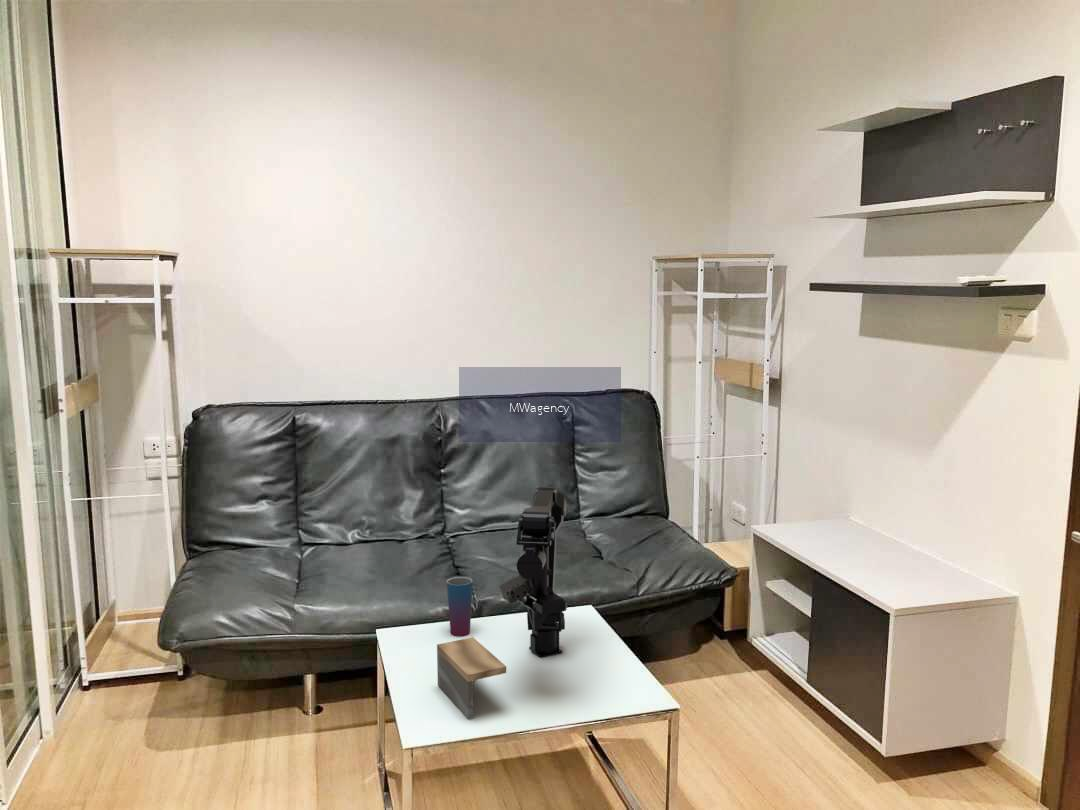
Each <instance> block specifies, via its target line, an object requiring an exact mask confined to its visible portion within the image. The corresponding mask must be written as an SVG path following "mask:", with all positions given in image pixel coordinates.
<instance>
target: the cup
mask: <svg viewBox="0 0 1080 810" xmlns="http://www.w3.org/2000/svg"><path fill="white" fill-rule="evenodd" d="M473 581H474V580H473V579H472V578H471V577H468V576H454V577H451V578H448V579H447V580H446V589H447V592H446V593H447V601H448V602H447V605H448V616H449V617H448V619H449V630H450V634H451V636H453V637H458V638H459V637H460V638H461V637H466V636H469V634H470V633H471V620H472V619H471V616H472V602H473V601H472V599H473V597H472V596H473Z"/></svg>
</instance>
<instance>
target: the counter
mask: <svg viewBox="0 0 1080 810" xmlns="http://www.w3.org/2000/svg"><path fill="white" fill-rule="evenodd" d="M436 653H437V654H436V655H437V657H436V659H437V661H436V663H437V665H436V666H437V668H436V669H437V687H438V688H439V689H440V690H441V692H443V694H444V695H445V696H446V697H447V698H448V699H449V700H450V701H451V702H452V704H454V705H455V707H456V708H457V709H458V710H459V711H460V712H461V713H462V714H463V716H464V717H465V718H466V719H467V720H468V721H469V720H472V719H474V681H477V680H481V679H485V678H490V677H494V676H499V675H504V674H506V673H507V665H505V664H504V663H503V662H502V661H501V660H500V659H498V658H497V656H496V655H494V654H493V653H492V652H491V651H489V649H487V648H486V647H485V646H484V645H482V643H480V642H479V641H478V640H477V639H476V638H474V636H473V637H468V638H463V639H456V640H453V641H449V642H448V641H447V642H442V643H438V644H436Z"/></svg>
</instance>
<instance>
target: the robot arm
mask: <svg viewBox="0 0 1080 810" xmlns="http://www.w3.org/2000/svg"><path fill="white" fill-rule="evenodd" d="M531 500H532V501H531V506H530V507H527V508H525V509H524V510H523V511H522V513H521V515H519V518H518V523H517V524H518V525H517V535H516V545H518V546H522V552H521V553H520V556H519V557H518V559H517V562H516V570H517V573H518V575H517V576H516V577H513V578H510V579H509V580H507V581H505V582H503V583H501V584H500V585H499V589H500V592H501V595H502V599H503V600H506V601H507V603H509V604H514V603H516V602H517V601H519V602H520V603H521V604H522V605H524V606H525V608H526V611H527V615H526V616H527V617H526V621H527V631H531V634H530V636H529V637H530V639H529V640H530V642H529V643H530V645H529V647H528V650H530V651H531V652H533V654H535V655H536V656H537V657H538V658H545V657H546V658H547V657H550V656H554V655H555V656H556V655H559V654H563V650H562V649H561V648H560V633H561V632H562V631H563V630H565V627H566V618H565V613H564V612H566V611H567V607H568V606H567V604H568V603H567V601H566V600H565V599H564V598H563V597H562V596H560V595H559V594H557V593H556V592H555V581H556V580H555V578H556V557H557V556H556V555H557V537H558V536H557V534H558V532H559V531H560V528H561V527H562V525H563V524H564V517H566V515H567V500H566V496H564V495H563V494H562V493H560V492H558V489H557V488H556V487H554V486H538V487H536V489H535V493H534V494H533V495H532V499H531Z"/></svg>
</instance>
